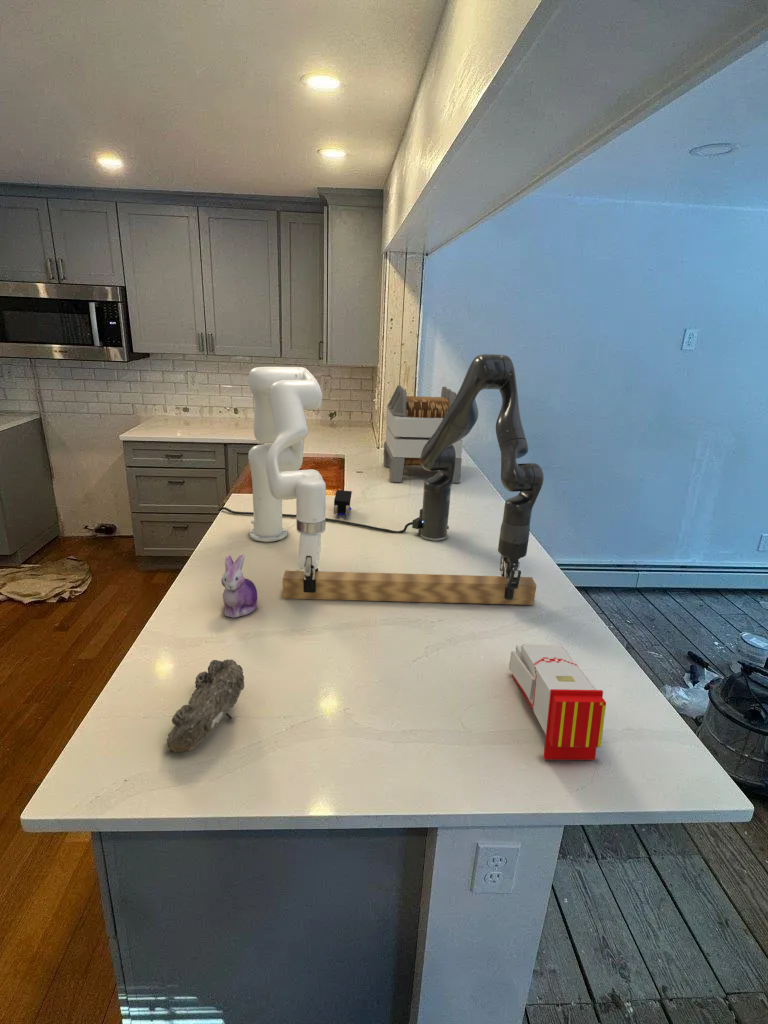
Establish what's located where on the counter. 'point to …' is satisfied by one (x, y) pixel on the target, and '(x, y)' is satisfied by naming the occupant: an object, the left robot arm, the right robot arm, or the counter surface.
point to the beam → (408, 587)
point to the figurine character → (342, 503)
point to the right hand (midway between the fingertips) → (506, 593)
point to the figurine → (237, 589)
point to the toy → (560, 700)
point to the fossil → (206, 705)
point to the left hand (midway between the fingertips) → (310, 586)
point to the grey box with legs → (414, 430)
